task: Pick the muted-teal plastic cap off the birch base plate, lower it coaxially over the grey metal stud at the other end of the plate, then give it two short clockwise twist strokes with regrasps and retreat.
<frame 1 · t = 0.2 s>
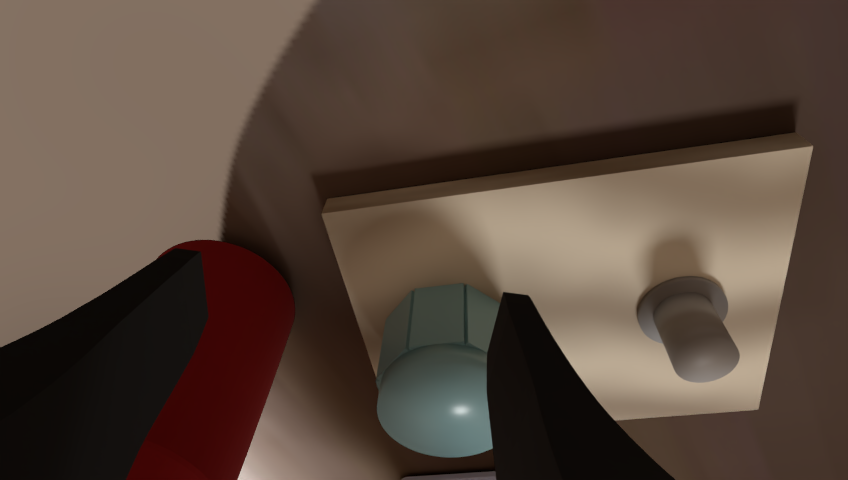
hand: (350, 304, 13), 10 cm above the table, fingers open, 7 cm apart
stud plate: (557, 303, 26), on the table
beverage can: (230, 286, 26), on the table
cap: (449, 332, 25), point 1 cm above the table, touching stud plate
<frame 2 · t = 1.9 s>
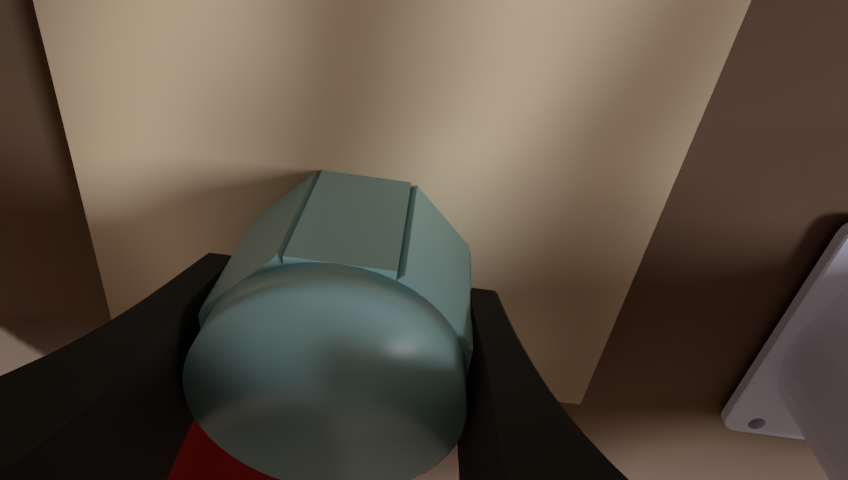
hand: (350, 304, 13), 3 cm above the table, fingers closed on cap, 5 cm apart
stud plate: (380, 65, 13), on the table
beverage can: (270, 445, 21), on the table
cap: (359, 269, 15), point 1 cm above the table, touching gripper, stud plate
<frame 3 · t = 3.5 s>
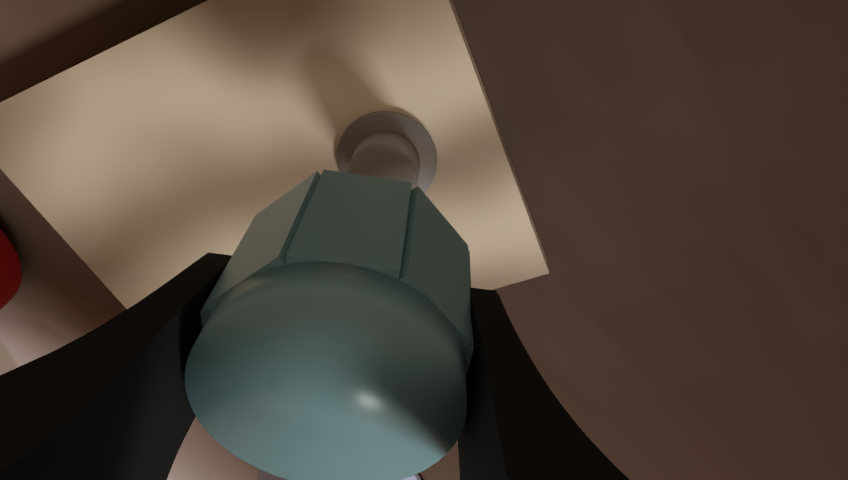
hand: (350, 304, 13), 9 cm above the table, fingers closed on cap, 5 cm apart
stud plate: (278, 187, 23), on the table
cap: (359, 268, 15), point 8 cm above the table, touching gripper
when the fingers open (4 cm above the table, at t = 5.3 s): cap drops 1 cm, resting on stud plate.
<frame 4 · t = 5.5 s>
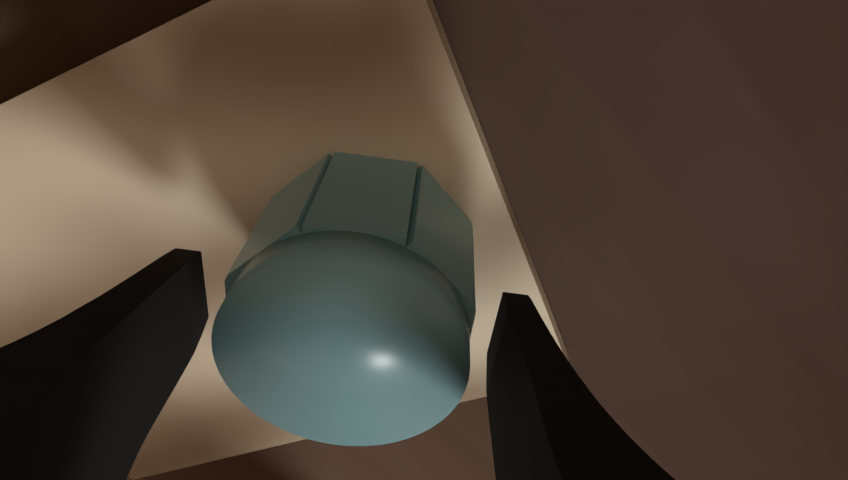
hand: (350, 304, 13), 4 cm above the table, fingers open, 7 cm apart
stud plate: (231, 268, 18), on the table
cap: (369, 246, 16), point 1 cm above the table, touching stud plate
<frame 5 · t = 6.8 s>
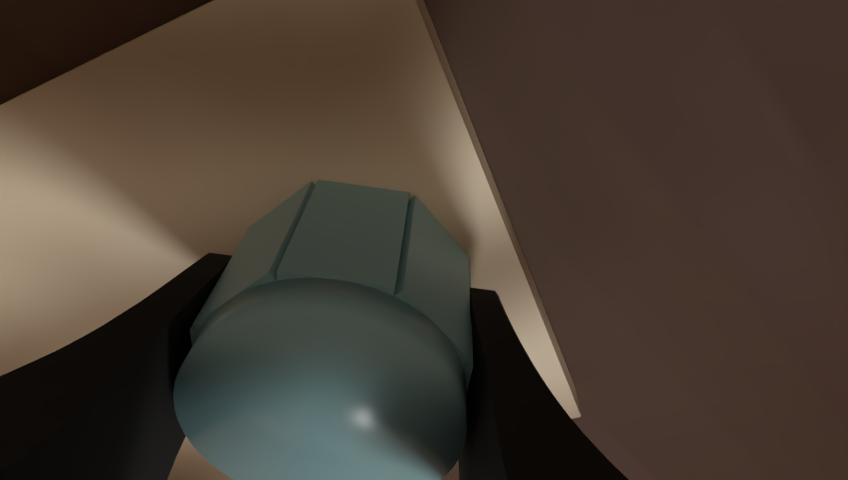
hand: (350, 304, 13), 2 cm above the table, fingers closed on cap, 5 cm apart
stud plate: (213, 301, 17), on the table
cap: (356, 280, 14), point 1 cm above the table, touching gripper
when the fingers open (3 cm above the table, at t = 8.2 s): cap stays where it is, resting on stud plate.
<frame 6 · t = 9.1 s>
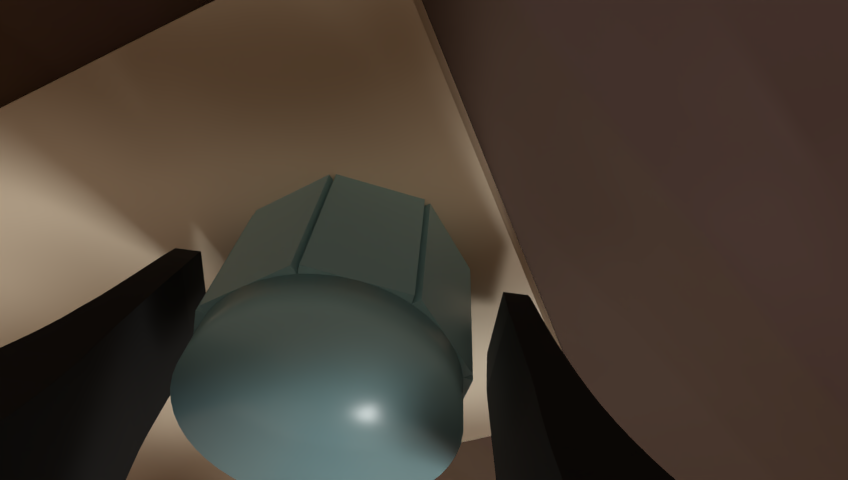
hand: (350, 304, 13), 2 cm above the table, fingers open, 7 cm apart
stud plate: (214, 301, 17), on the table
cap: (354, 277, 14), point 1 cm above the table, touching stud plate
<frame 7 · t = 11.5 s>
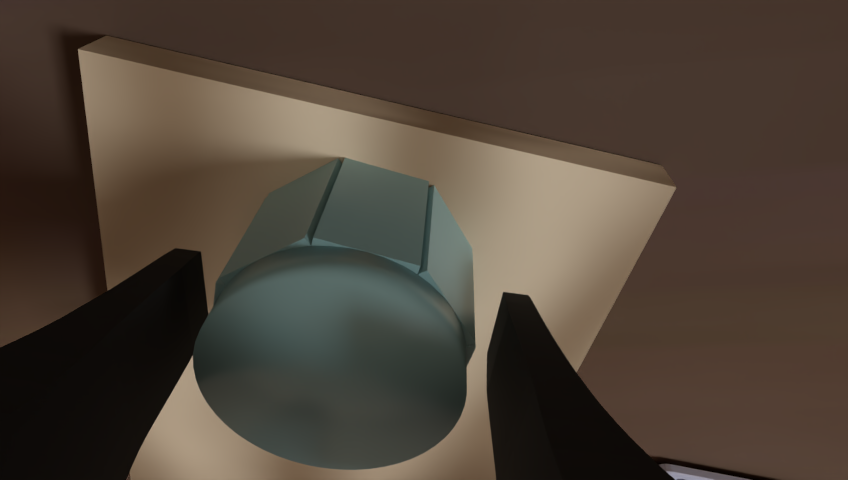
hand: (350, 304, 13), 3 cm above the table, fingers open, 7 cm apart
stud plate: (344, 355, 19), on the table
cap: (362, 257, 15), point 1 cm above the table, touching stud plate
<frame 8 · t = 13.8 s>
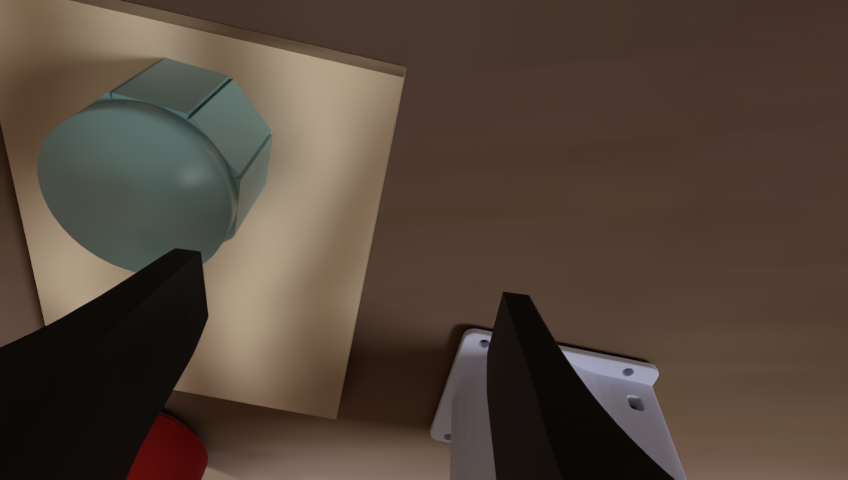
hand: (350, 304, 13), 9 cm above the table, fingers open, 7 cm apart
stud plate: (206, 234, 24), on the table
beverage can: (156, 433, 32), on the table
cap: (194, 139, 20), point 1 cm above the table, touching stud plate
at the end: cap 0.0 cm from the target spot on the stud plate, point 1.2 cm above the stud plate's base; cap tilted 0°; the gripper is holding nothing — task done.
